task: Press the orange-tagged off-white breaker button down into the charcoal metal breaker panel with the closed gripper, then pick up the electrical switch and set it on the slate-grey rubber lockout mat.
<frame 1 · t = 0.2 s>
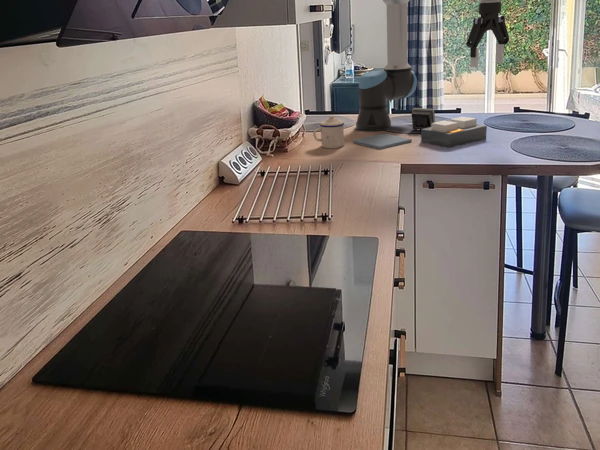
hand: (486, 64, 208), 27 cm above the worktop, fingers open, 13 cm apart
breaker panel: (453, 140, 219), on the worktop
electrical switch: (423, 130, 239), on the worktop
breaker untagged: (463, 122, 219), point 6 cm above the worktop, slide at 0.0 cm
teacup with lid: (329, 146, 222), on the worktop
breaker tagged: (444, 126, 214), point 6 cm above the worktop, slide at 0.0 cm
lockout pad: (382, 142, 223), on the worktop
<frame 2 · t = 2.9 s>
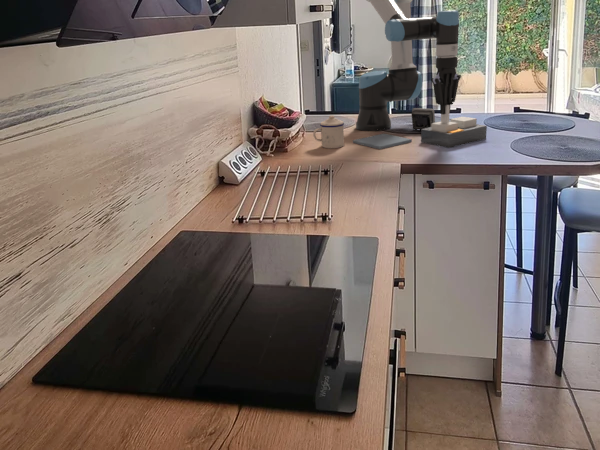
hand: (445, 122, 214), 8 cm above the worktop, fingers closed
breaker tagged: (444, 126, 214), point 6 cm above the worktop, slide at 0.1 cm, touching gripper
everything else where it was.
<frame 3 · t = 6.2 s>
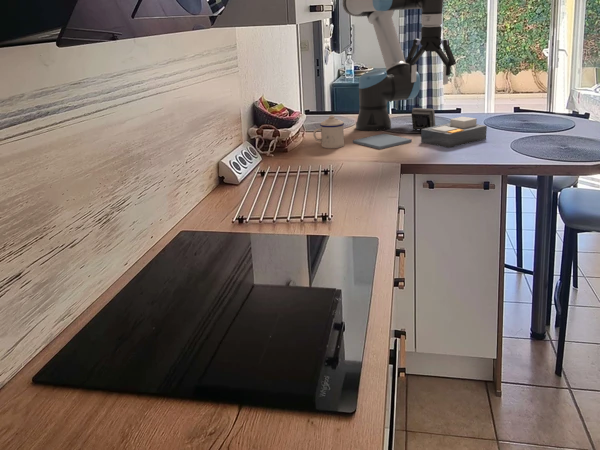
hand: (429, 83, 226), 20 cm above the worktop, fingers open, 13 cm apart
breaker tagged: (444, 132, 215), point 4 cm above the worktop, slide at 2.1 cm
everything else where it was.
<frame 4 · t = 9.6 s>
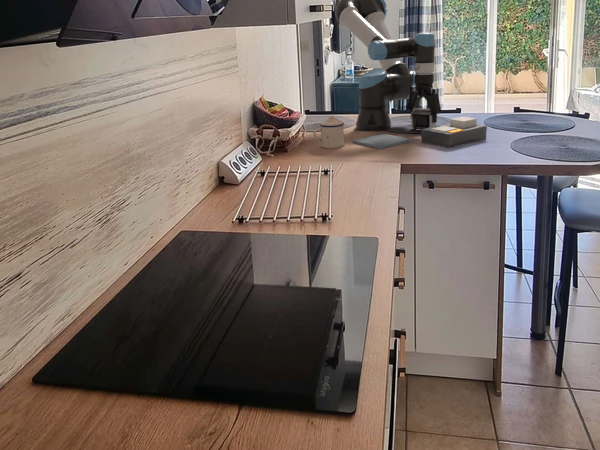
hand: (423, 128, 239), 1 cm above the worktop, fingers closed on electrical switch, 10 cm apart
electrical switch: (423, 130, 239), on the worktop, touching gripper
everything else where it was.
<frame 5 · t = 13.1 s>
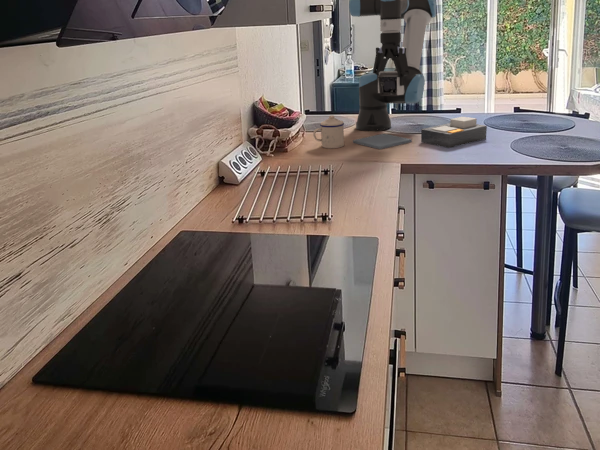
hand: (390, 93, 220), 18 cm above the worktop, fingers closed on electrical switch, 10 cm apart
electrical switch: (391, 96, 220), point 17 cm above the worktop, touching gripper
everything else where it was.
when the fingers open (3 cm above the worktop, at t = 16.9 s): electrical switch drops 1 cm, resting on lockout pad.
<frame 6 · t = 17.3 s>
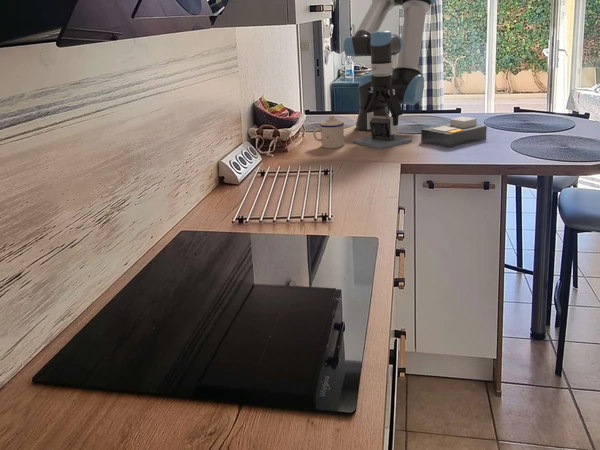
hand: (381, 131, 222), 4 cm above the worktop, fingers open, 13 cm apart
electrical switch: (382, 140, 222), point 1 cm above the worktop, touching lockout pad
everything else where it was.
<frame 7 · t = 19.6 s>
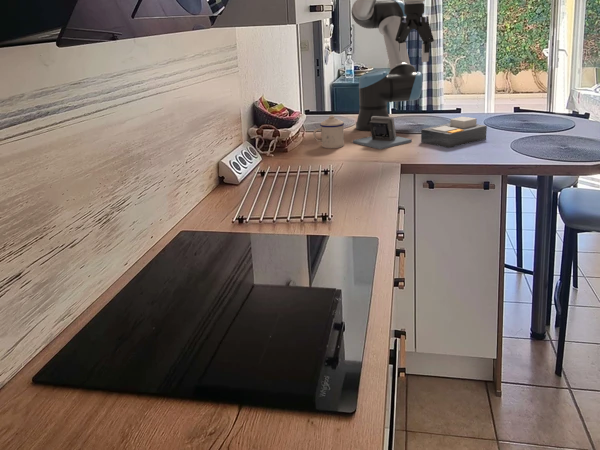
hand: (413, 60, 226), 28 cm above the worktop, fingers open, 13 cm apart
nothing on the worktop moved.
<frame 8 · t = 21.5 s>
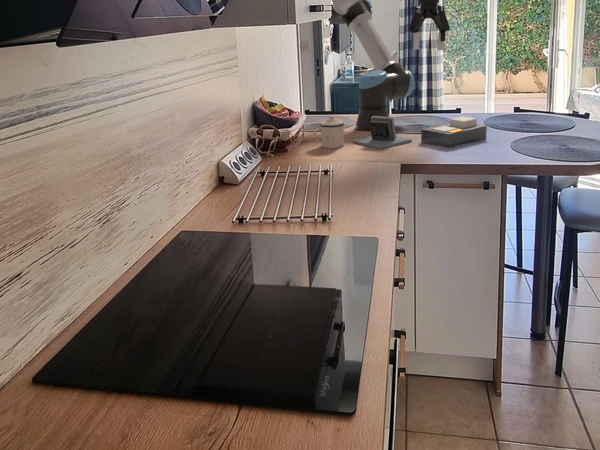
hand: (428, 49, 232), 32 cm above the worktop, fingers open, 13 cm apart
nothing on the worktop moved.
at the end: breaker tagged slide at 2.1 cm; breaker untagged slide at 0.0 cm; electrical switch inside the target area on the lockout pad (0.7 cm from its centre), point 0.8 cm above the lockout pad's base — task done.
